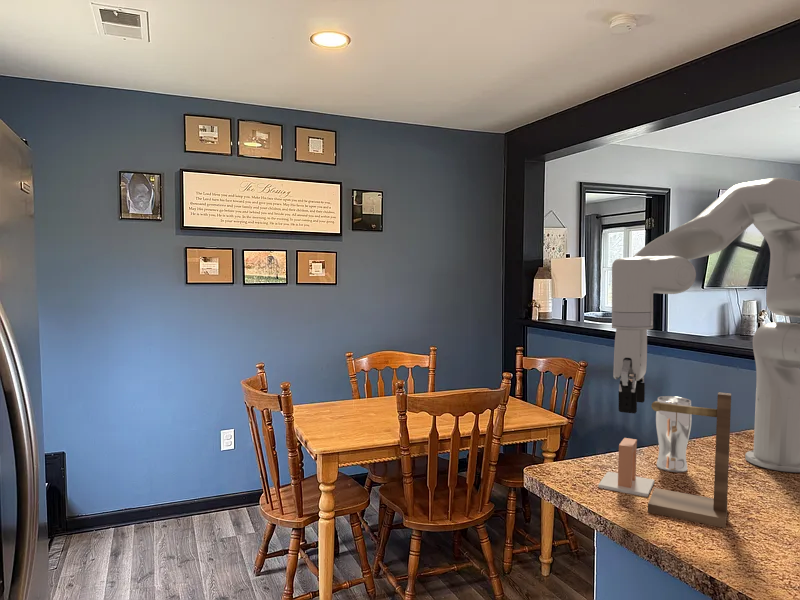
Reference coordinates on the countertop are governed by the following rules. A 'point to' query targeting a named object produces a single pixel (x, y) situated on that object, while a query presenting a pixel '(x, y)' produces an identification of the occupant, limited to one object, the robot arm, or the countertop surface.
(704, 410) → the stand
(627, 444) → the link
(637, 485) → the trivet
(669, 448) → the beer glass
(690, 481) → the countertop surface
